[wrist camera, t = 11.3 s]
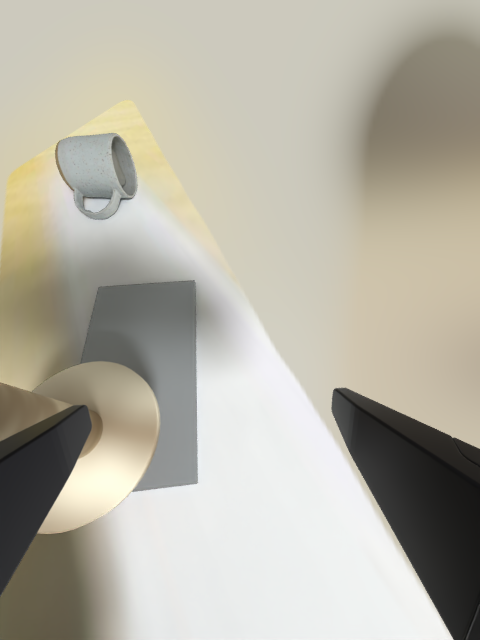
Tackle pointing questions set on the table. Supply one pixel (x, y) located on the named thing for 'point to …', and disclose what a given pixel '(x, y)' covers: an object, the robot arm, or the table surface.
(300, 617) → the table surface
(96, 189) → the ceramic mug
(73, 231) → the table surface
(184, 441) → the slate mat
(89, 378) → the birch lid
